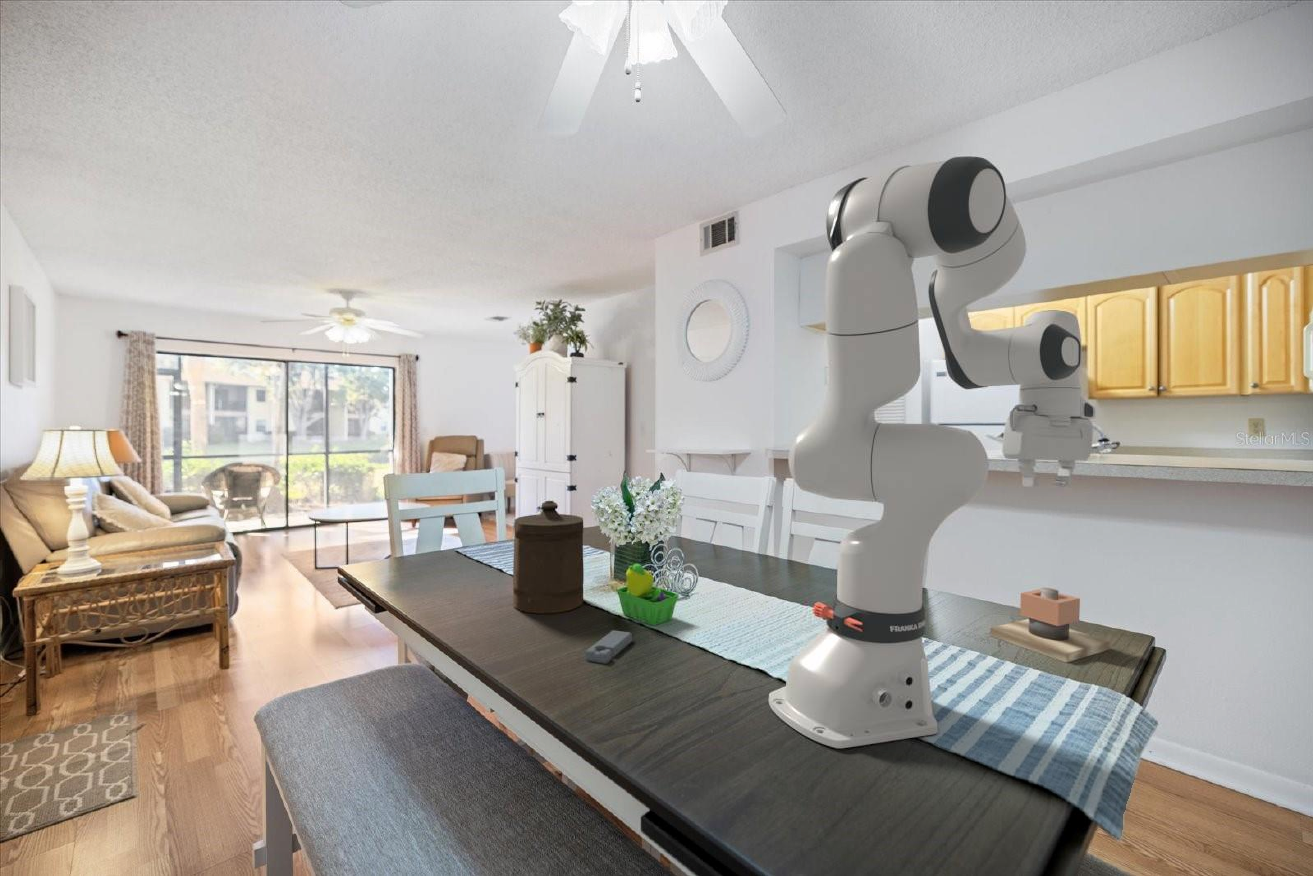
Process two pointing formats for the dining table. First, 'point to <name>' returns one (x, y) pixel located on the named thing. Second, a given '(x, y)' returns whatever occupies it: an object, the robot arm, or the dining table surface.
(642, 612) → the fruit basket
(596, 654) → the bracket
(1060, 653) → the pin stand
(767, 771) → the dining table surface
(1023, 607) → the orange square ring
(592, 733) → the dining table surface
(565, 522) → the wooden container
